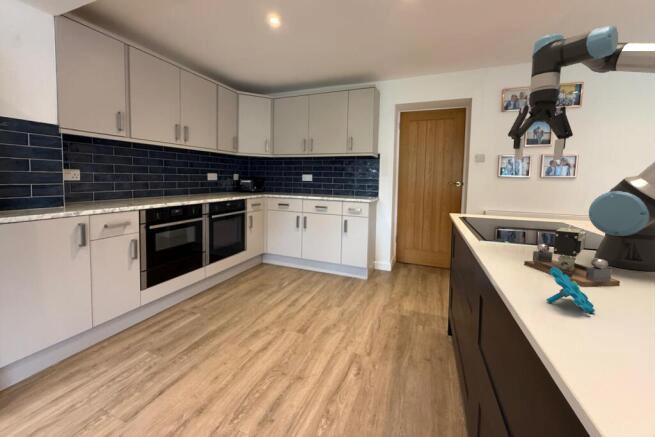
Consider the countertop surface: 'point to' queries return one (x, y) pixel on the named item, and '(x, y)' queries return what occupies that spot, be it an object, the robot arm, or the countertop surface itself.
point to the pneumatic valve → (568, 246)
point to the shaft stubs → (592, 273)
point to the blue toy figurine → (569, 291)
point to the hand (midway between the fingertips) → (538, 159)
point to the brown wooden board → (571, 273)
